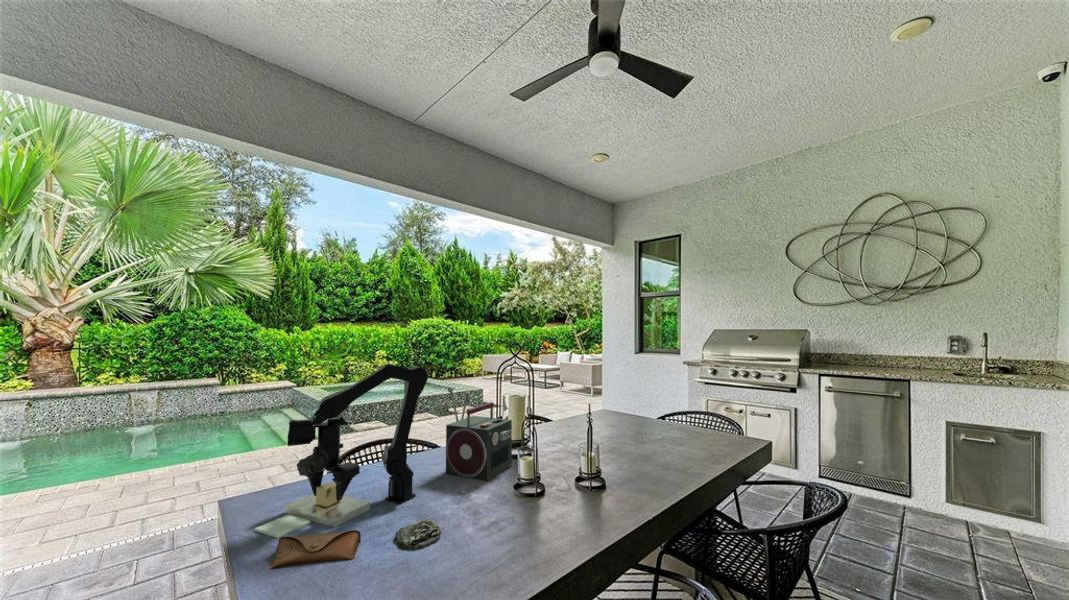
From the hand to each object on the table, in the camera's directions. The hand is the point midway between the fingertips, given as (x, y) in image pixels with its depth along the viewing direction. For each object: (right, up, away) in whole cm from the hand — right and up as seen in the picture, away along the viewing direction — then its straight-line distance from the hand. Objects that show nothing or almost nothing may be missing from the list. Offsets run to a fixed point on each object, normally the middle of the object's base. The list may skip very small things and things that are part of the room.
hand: (327, 498), depth 122 cm
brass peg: (0, -4, 0) cm, 4 cm away
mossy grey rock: (+30, -3, -15) cm, 34 cm away
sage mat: (-7, -3, -10) cm, 12 cm away
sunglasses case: (+9, -3, -23) cm, 25 cm away
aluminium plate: (0, -4, 0) cm, 4 cm away
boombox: (+38, -6, +35) cm, 52 cm away
